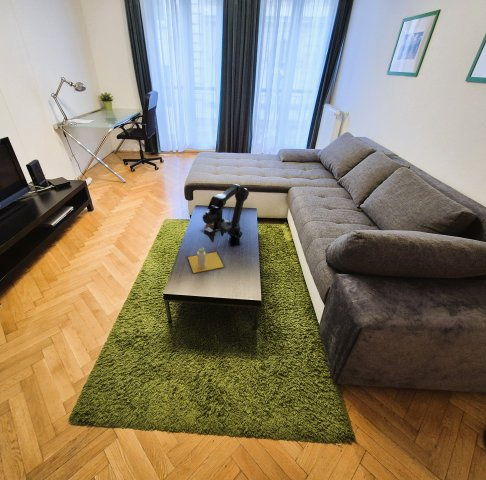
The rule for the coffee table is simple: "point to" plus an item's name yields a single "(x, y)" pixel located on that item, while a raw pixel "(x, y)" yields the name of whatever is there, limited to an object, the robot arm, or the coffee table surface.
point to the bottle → (201, 258)
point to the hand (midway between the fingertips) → (217, 239)
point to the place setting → (209, 226)
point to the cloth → (211, 262)
